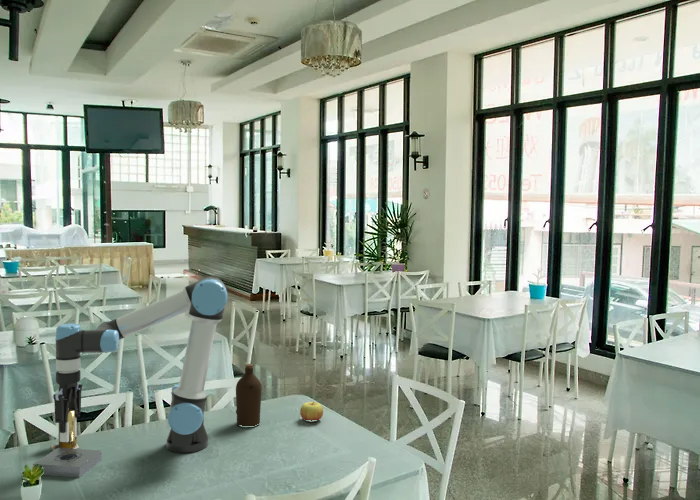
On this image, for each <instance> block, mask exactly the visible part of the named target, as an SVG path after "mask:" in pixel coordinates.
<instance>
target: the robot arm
mask: <svg viewBox="0 0 700 500" xmlns="http://www.w3.org/2000/svg"><path fill="white" fill-rule="evenodd" d="M227 304H228V290H227V288H226V285H225V283H224V281H222V279H221V278H219V277H217V276H214V275H212V276H211V275H209V276H204V277H202V278H200V279H199V280H197V281H195V282H193V283H190V284H189V285H187V286H184V288H183V290H182V291H179V292H177V293H175V294H174V293H173V294H172V295H169V296H167V297H164V298H163V299H160V300H158V301H156V302H155V301H154V302H153V303H150V304H148V305H145V306H143V307H140V308H138V309H136V310H133V311H132V312H129V313H127V314H124V315H122V316H119V317H117V318H115V319H114V318H113V319H112V320H110V321H108V320H107V321H105V322H102V323H101V324H99V325H98V326H97V328H96V329H89V330H84V329H82V328H81V325H80V324H78V323H63V324H60V325H58V326H57V327H56V330H55V370H56V372H55V382H56V384H58V391H57V393H54V394H53V396H52V398H53V401H54V403H53V404H54V423H55V424H58V425H59V424H60V442H68V441H69V422H67V418H68V409H73V410H75V437H76V436H77V437H78V429H77V428H78V427H77V426H78V423H77V418H80V417H81V413H82V409H81V408H82V391H83V390H82V389H83V384H81V383H80V384H79V382H81V370H80V369H81V367H82V366H81V363H82V362H81V354H85V353H86V354H87V353H90V354H91V353H105V354H107V353H114V352H116V351H118V349H119V346H120V345H119V344H120V340H123V339H124V338H127V337H129V336H131V335H133V334H136V333H138V332H141V331H143V330H145V329H146V330H147V329H148V328H150V327H153V326H155V325H159V324H160V323H163V322H165V321H167V320H171V319H173V318H174V317H177V316H179V315H181V314H184V313H186V312H188V316H189V317H190V318H191V325H190V329H189V334H188V338H187V339H188V340H187V345H186V349H185V353H184V359H183V363H182V369H181V373H180V379H179V383H177V384H174V385H173V386H172V387H171V392H170V394H171V400H170V401H171V402H170V406H169V411H168V413H167V423H168V426H169V428H170V429H169V432H168V436H167V439H166V442H165V443H166V449H167V450H168V451H170V452H173V453H179V454H181V453H182V454H183V453H184V454H185V453H186V454H188V453H194V452H198V451H201V450H204V449H205V448H206V447H208V445H209V436H208V433H207V430H206V426H205V423H204V422H205V420H204V419H205V418H204V417H205V416H204V415H205V406H206V402H207V398H208V394H207V392H206V391H205V385H206V380H207V375H208V370H209V365H210V361H211V360H210V359H211V355H212V352H213V351H212V349H213V344H214V340H215V335H216V330H217V326H218V324H219V323H220V322H221V321H223V318H224V313H225V307H226V305H227Z"/></svg>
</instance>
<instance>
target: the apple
mask: <svg viewBox="0 0 700 500" xmlns="http://www.w3.org/2000/svg"><path fill="white" fill-rule="evenodd" d="M299 412H300V417H301V418H302V420H304V419H305V420H311V421H312V420H319V419H320V420H321V419H322V418H323V415H324V408H323V406H322V404H320V403H319V402H317V401H307V402H304V403H303V404H302V405H301V407H300V411H299ZM305 420H304V421H305ZM320 420H319V421H320Z"/></svg>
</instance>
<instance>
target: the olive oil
mask: <svg viewBox="0 0 700 500" xmlns="http://www.w3.org/2000/svg"><path fill="white" fill-rule="evenodd" d="M244 366H245V367H244V374H243V375H242V376H241V377H240V378H239V379H238V381H237V383H236V385H235V402H236V403H235V405H236V407H235V408H236V410H235V414H236V425H237V424H238V425H242V426H255V425H257V424H259V423H260V424H261V404H262V392H263V391H262V390H263V386H262V382H261V380H260V379H259V378H258V377H257V376H256V374H254V364H253V363H246V364H245V365H244ZM260 424H259V425H260ZM238 425H237V426H238Z"/></svg>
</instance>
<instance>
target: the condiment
mask: <svg viewBox="0 0 700 500" xmlns="http://www.w3.org/2000/svg"><path fill="white" fill-rule="evenodd" d="M77 437H78V435H77V436H76V437H75V440H74V441H72V442H68V443H64V442H60V424H59V423H58V443H57V444H52V445H50V446H51V450H52V451H54V450H55V449H57V448H72V449H80V446H79V445H78V441H77Z"/></svg>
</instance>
